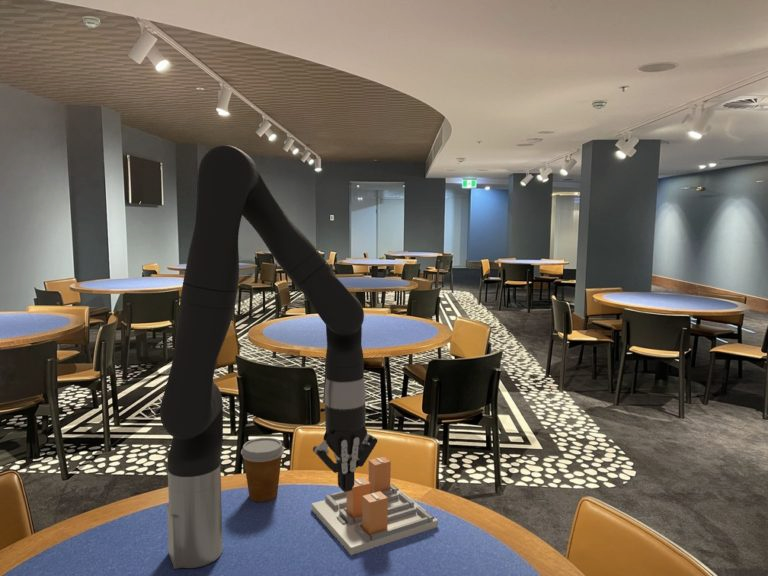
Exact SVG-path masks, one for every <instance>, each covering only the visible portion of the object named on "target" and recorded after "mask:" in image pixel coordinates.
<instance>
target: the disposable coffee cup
mask: <svg viewBox="0 0 768 576" xmlns="http://www.w3.org/2000/svg"><path fill="white" fill-rule="evenodd" d="M284 452H285V447H284V446H283V443H282V441H280V440H279V439H277V438H273V437H258V438H253V439H250V440H248V441H246V442H245V443H244V444H243V445H242V449H241V451H240V454H241V456H242V458H243V463H244V471H245V478H246V483H247V484H246V485H247V490H248V496H249V499H250V500H252V501H253V502H259V503H260V502H261V503H262V502H268V501H272V500H273V499H275V498H276V497H277V496H278V491H279V482H280V476H281V475H280V474H281V467H282V466H281V465H282V455H283V453H284Z"/></svg>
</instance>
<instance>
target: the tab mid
mask: <svg viewBox="0 0 768 576" xmlns="http://www.w3.org/2000/svg"><path fill="white" fill-rule="evenodd" d="M354 483H355V484H354V487H352V490H351V491H347V514H348V515H349V516H350V517H351V518H352V519H353V520H354V518H355V517H359V516H362V496H364V495H368V494H370V482H369V480H367V479H366V478H365V477H364V476H363V477H359V478H354Z"/></svg>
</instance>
